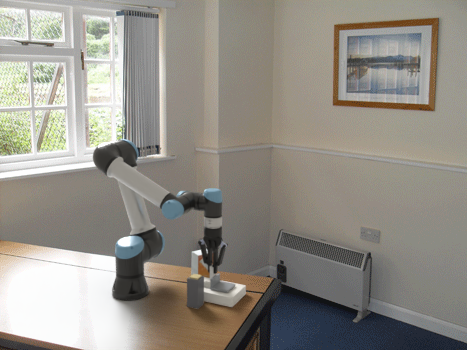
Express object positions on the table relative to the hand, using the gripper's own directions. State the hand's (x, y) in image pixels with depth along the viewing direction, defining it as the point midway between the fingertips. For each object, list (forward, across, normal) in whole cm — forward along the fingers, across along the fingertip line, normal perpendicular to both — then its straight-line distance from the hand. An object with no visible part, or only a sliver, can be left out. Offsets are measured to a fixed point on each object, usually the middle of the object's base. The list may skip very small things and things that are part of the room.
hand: (212, 280), depth 223 cm
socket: (+7, +2, 0) cm, 7 cm away
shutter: (+2, +5, 0) cm, 5 cm away
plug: (+7, -2, -12) cm, 14 cm away
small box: (+7, -12, +13) cm, 19 cm away
